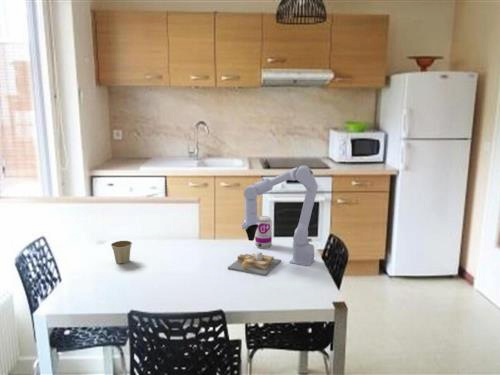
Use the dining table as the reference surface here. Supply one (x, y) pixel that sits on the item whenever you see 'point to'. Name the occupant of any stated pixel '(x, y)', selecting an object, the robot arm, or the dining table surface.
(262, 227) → the supplement can
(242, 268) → the base plate
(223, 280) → the dining table surface
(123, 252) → the flower pot
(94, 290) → the dining table surface
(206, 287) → the dining table surface
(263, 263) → the wooden beam assembly
